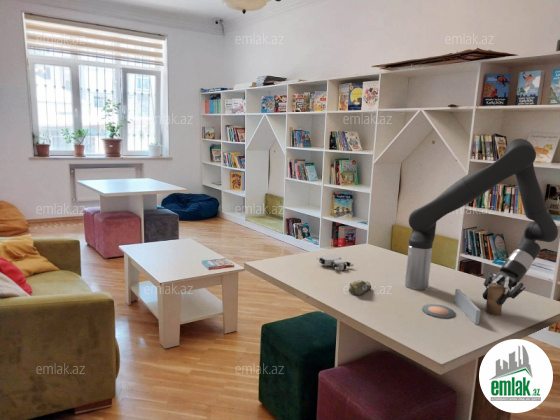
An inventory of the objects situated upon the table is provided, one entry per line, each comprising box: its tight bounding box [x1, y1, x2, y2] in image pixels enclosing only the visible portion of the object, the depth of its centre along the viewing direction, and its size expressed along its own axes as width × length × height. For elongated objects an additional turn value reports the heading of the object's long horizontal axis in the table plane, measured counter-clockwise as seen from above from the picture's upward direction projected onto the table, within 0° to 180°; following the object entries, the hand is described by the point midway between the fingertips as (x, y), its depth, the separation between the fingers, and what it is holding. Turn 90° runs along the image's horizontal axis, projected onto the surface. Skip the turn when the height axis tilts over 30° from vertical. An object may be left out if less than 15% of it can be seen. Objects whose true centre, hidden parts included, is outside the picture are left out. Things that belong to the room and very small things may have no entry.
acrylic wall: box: [453, 288, 481, 325], centre depth 152 cm, size 20×1×5 cm, turn 177°
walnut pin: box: [485, 283, 504, 316], centre depth 152 cm, size 5×5×10 cm
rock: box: [348, 279, 372, 296], centre depth 169 cm, size 11×6×10 cm
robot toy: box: [315, 253, 354, 271], centre depth 200 cm, size 12×4×15 cm
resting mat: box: [421, 303, 456, 319], centre depth 152 cm, size 11×11×1 cm
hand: (491, 301), depth 152 cm, fingers closed on walnut pin, 5 cm apart
